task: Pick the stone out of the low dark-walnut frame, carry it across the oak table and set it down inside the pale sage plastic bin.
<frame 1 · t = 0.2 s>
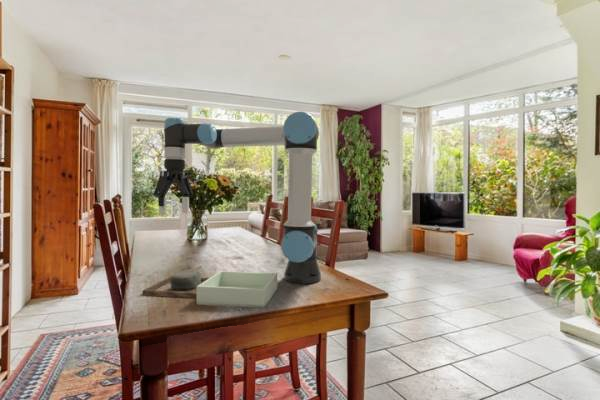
hand: (174, 214, 134), 27 cm above the table, fingers open, 13 cm apart
stone: (185, 289, 127), on the table
frame: (186, 288, 128), on the table
bin: (239, 296, 119), on the table
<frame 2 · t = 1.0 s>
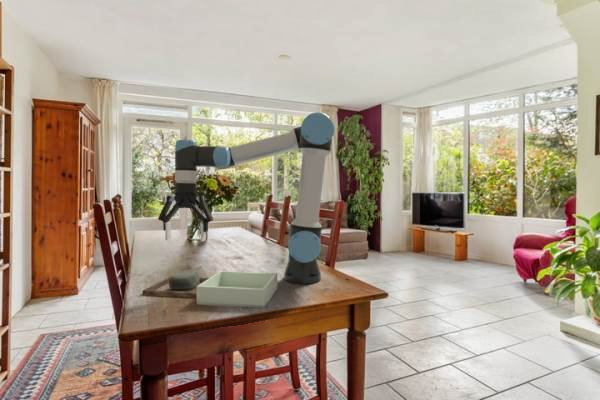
hand: (185, 240, 127), 18 cm above the table, fingers open, 13 cm apart
nothing on the table moved.
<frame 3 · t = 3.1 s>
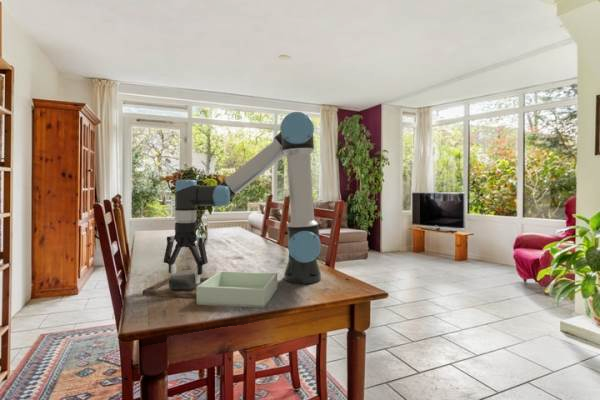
hand: (185, 282, 127), 2 cm above the table, fingers closed on stone, 9 cm apart
stone: (183, 290, 126), on the table, touching frame, gripper
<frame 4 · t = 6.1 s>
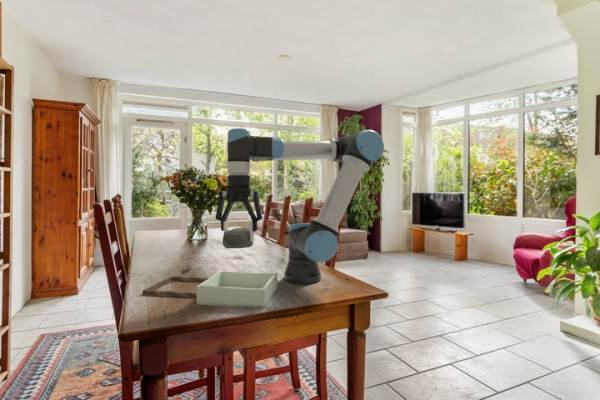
hand: (239, 240, 118), 19 cm above the table, fingers closed on stone, 9 cm apart
stone: (237, 248, 117), point 17 cm above the table, touching gripper
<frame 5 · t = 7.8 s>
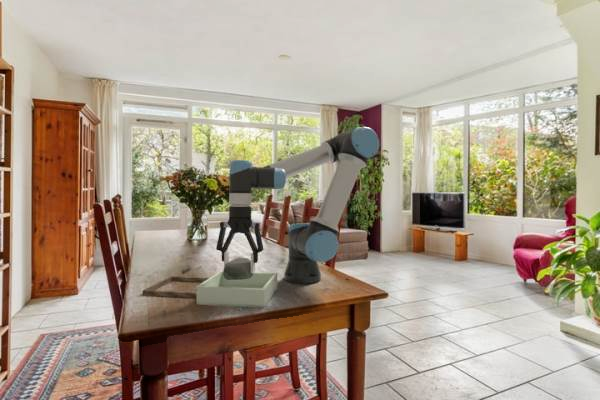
hand: (239, 271, 118), 9 cm above the table, fingers closed on stone, 9 cm apart
stone: (237, 279, 117), point 6 cm above the table, touching gripper
when the fingers open (5 cm above the table, at t = 9.3 s): stone drops 2 cm, resting on bin.
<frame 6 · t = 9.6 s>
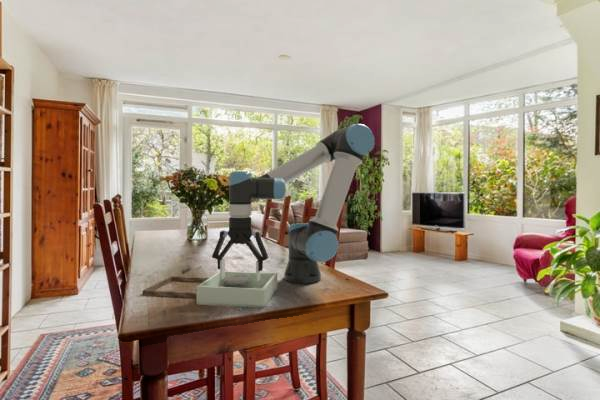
hand: (240, 279, 118), 6 cm above the table, fingers open, 12 cm apart
stone: (237, 295, 117), point 1 cm above the table, touching bin
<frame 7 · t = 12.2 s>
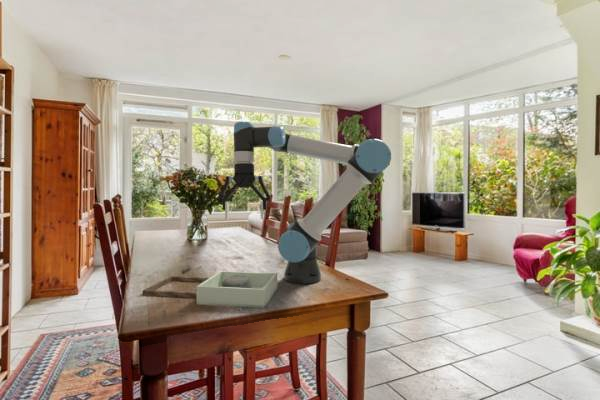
hand: (244, 219, 132), 25 cm above the table, fingers open, 13 cm apart
nothing on the table moved.
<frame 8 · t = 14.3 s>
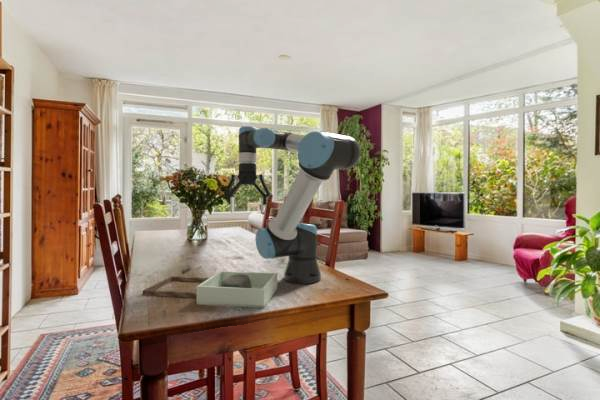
hand: (247, 212, 149), 27 cm above the table, fingers open, 13 cm apart
nothing on the table moved.
at the end: stone inside the target area on the bin (2.4 cm from its centre), point 0.6 cm above the bin's base; the gripper is holding nothing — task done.
